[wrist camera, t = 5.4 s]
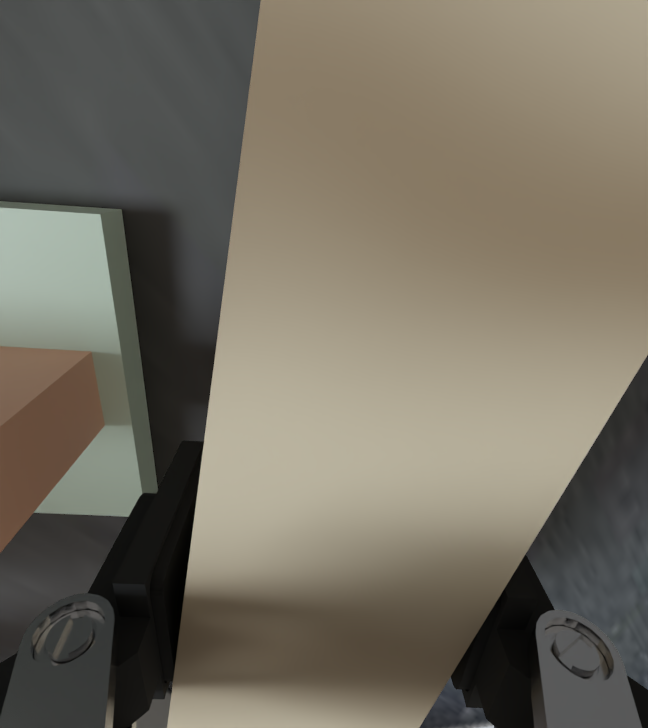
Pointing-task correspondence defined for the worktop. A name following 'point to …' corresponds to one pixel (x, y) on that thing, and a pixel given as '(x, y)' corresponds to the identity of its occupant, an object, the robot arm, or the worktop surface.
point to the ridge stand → (69, 367)
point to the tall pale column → (156, 713)
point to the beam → (407, 341)
